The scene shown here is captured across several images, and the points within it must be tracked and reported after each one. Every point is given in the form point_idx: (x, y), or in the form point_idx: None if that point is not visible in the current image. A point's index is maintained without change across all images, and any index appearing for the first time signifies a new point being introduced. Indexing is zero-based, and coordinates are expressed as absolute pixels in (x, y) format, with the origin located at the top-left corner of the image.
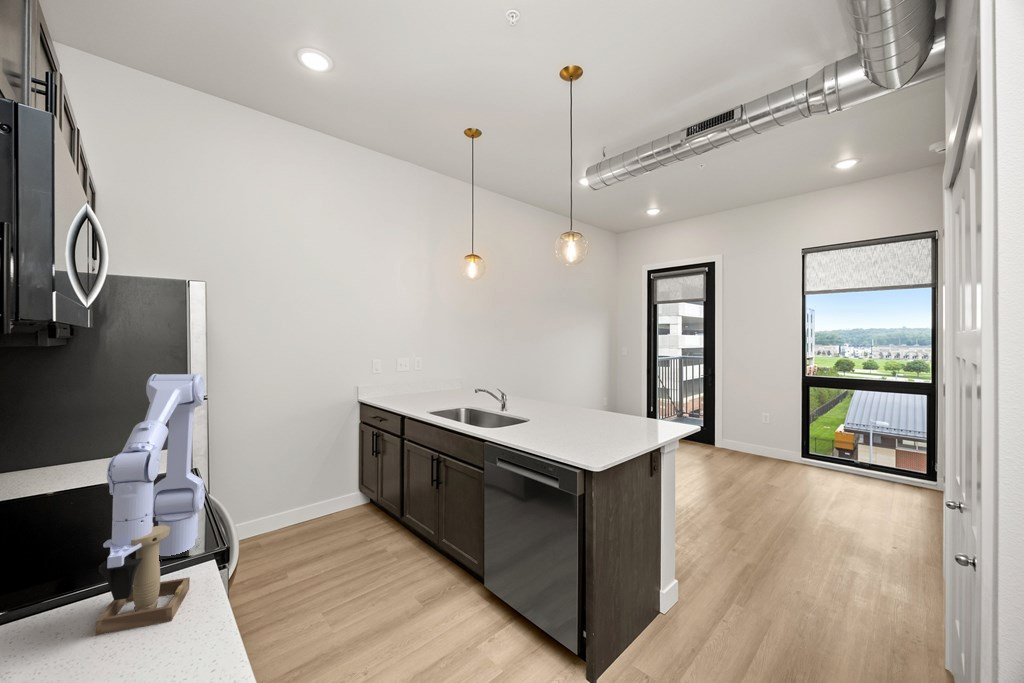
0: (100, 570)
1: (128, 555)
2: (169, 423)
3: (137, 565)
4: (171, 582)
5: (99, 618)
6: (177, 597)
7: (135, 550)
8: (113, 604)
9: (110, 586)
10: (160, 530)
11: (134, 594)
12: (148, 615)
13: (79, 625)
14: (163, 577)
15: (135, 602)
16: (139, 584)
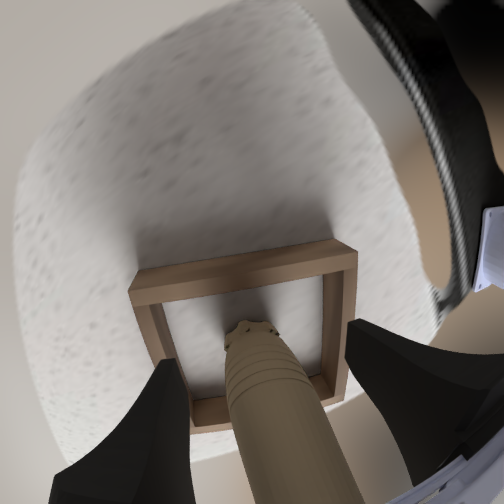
0: (51, 489)
1: (421, 374)
2: None
3: None
4: (336, 375)
5: (143, 293)
6: None
7: (427, 410)
8: (238, 286)
9: (133, 408)
10: None
11: (233, 372)
12: None
13: (211, 179)
14: (418, 281)
15: (230, 353)
16: (231, 417)
